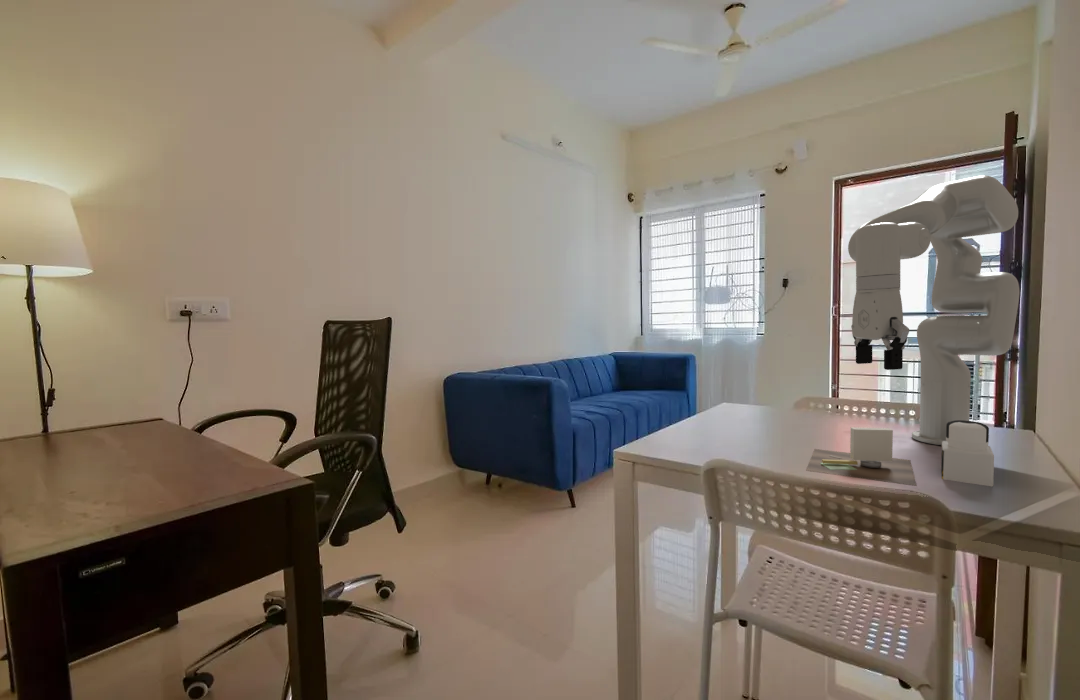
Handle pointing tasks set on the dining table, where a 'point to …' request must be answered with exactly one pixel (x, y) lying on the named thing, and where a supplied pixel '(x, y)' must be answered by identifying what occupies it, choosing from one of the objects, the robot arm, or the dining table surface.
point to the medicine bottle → (967, 453)
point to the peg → (868, 447)
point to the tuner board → (863, 468)
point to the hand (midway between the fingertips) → (877, 366)
